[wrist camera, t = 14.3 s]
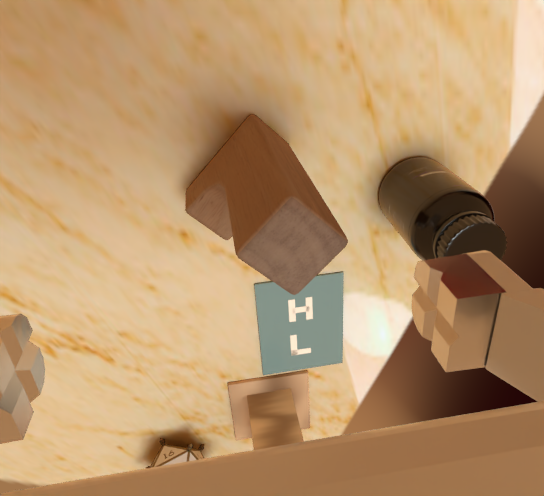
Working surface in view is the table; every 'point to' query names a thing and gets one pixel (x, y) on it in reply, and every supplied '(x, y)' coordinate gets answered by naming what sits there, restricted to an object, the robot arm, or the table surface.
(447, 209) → the supplement bottle
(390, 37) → the table surface
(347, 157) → the table surface
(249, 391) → the cork mat
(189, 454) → the game die
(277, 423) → the oak block
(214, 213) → the wooden block
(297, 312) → the tile
